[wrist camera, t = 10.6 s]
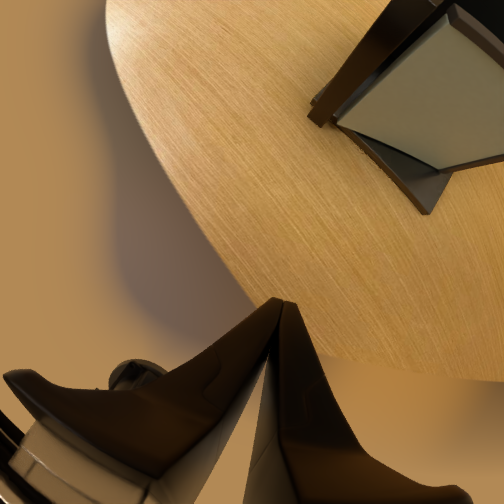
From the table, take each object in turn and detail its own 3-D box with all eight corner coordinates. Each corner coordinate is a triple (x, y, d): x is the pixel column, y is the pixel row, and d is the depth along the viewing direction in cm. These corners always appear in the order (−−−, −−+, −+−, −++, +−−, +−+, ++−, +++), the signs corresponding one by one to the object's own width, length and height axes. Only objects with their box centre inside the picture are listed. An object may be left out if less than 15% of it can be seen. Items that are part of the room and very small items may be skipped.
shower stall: (416, 225, 24) (583, 229, 6) (301, 112, 22) (402, -42, 4) (464, 138, 24) (582, 101, 6) (372, 42, 22) (459, -57, 4)
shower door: (443, 174, 22) (576, 148, 6) (336, 126, 21) (459, 16, 5) (444, 163, 22) (573, 132, 6) (338, 114, 21) (454, 1, 5)
